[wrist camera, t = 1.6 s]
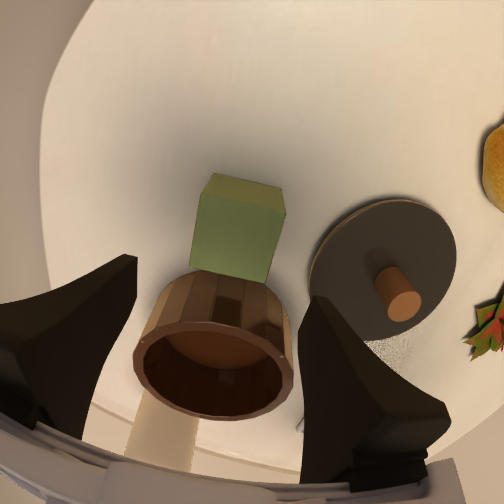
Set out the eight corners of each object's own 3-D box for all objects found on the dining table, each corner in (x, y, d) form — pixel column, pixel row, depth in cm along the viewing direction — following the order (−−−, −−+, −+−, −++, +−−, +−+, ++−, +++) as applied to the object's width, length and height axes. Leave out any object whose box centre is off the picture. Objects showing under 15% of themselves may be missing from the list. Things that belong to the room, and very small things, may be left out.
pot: (307, 287, 23) (318, 341, 18) (268, 379, 28) (268, 429, 23) (158, 254, 22) (130, 301, 17) (153, 355, 27) (136, 402, 22)
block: (281, 188, 19) (286, 212, 15) (264, 248, 21) (264, 284, 17) (214, 173, 19) (200, 193, 15) (202, 234, 21) (188, 267, 17)
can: (155, 404, 32) (132, 489, 21) (139, 371, 29) (106, 467, 18) (207, 409, 32) (193, 501, 21) (197, 376, 28) (177, 482, 18)
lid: (472, 223, 20) (502, 247, 16) (408, 339, 26) (423, 372, 22) (340, 173, 19) (360, 193, 15) (286, 320, 25) (289, 360, 21)
